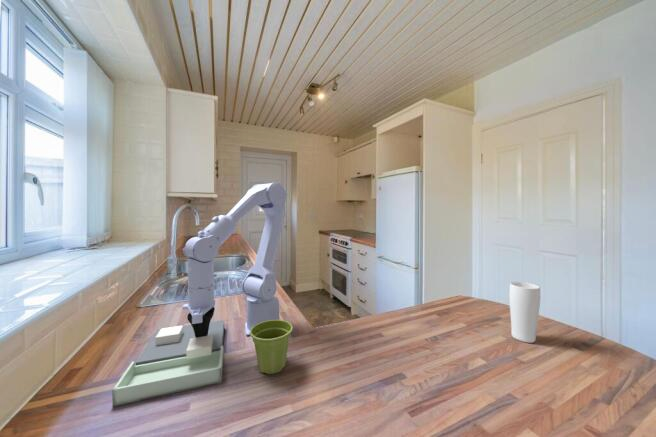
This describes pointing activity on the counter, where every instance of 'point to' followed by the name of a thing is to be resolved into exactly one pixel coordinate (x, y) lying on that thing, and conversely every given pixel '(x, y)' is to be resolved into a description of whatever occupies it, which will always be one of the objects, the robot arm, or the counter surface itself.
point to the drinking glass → (524, 310)
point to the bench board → (179, 344)
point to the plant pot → (271, 344)
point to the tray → (167, 377)
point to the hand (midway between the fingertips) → (201, 340)
